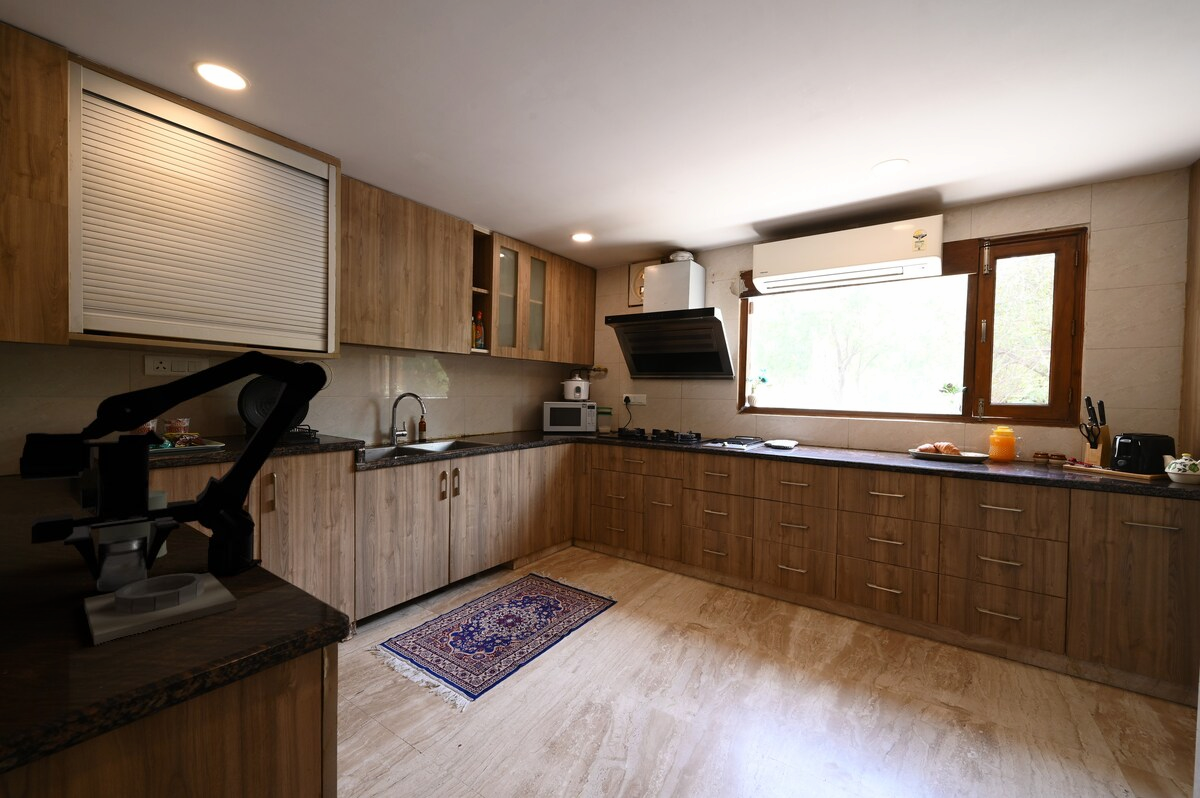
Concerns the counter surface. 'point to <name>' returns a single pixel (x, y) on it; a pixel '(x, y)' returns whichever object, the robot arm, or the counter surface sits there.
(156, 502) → the can
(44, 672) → the counter surface
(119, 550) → the piston
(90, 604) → the ring plate
